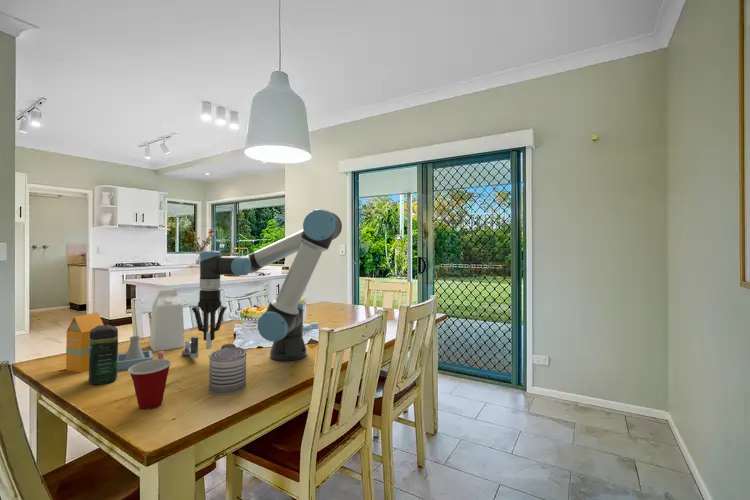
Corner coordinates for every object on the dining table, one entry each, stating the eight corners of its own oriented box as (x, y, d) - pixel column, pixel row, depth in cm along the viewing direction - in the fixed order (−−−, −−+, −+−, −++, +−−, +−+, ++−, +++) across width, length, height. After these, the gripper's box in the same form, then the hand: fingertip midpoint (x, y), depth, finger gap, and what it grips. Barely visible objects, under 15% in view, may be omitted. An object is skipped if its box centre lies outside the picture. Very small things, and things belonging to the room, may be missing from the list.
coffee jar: (118, 382, 125) (119, 327, 125) (88, 387, 120) (89, 330, 120) (116, 374, 132) (117, 322, 132) (88, 378, 128) (89, 324, 127)
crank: (184, 349, 158) (184, 331, 158) (194, 348, 160) (194, 330, 160) (189, 359, 145) (189, 338, 145) (200, 357, 147) (200, 337, 147)
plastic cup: (120, 407, 106) (120, 365, 106) (159, 395, 115) (160, 356, 115) (138, 417, 100) (138, 373, 100) (178, 403, 109) (178, 363, 109)
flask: (149, 360, 147) (150, 334, 147) (136, 365, 140) (136, 339, 140) (132, 359, 148) (133, 334, 148) (118, 364, 140) (118, 338, 140)
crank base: (198, 355, 157) (198, 351, 157) (182, 357, 153) (182, 353, 153) (196, 351, 162) (196, 348, 162) (181, 353, 158) (181, 350, 158)
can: (253, 386, 123) (253, 350, 123) (222, 398, 113) (223, 359, 113) (231, 379, 129) (232, 345, 129) (201, 389, 120) (201, 352, 120)
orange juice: (65, 370, 136) (66, 315, 135) (90, 363, 144) (91, 311, 144) (81, 372, 133) (81, 317, 133) (105, 365, 142) (106, 313, 141)
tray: (152, 365, 142) (153, 357, 142) (114, 371, 135) (114, 362, 135) (151, 357, 152) (151, 350, 152) (115, 362, 145) (115, 354, 145)
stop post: (163, 362, 146) (163, 352, 146) (157, 363, 145) (158, 352, 145) (163, 361, 148) (163, 351, 148) (157, 361, 147) (157, 351, 147)
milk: (178, 341, 177) (179, 287, 177) (184, 347, 169) (185, 290, 168) (149, 345, 170) (150, 289, 170) (153, 351, 161) (154, 291, 161)
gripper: (189, 290, 143) (188, 351, 143) (224, 290, 145) (223, 350, 145) (195, 288, 150) (194, 346, 150) (229, 288, 152) (228, 345, 153)
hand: (208, 348), depth 148 cm, fingers closed
